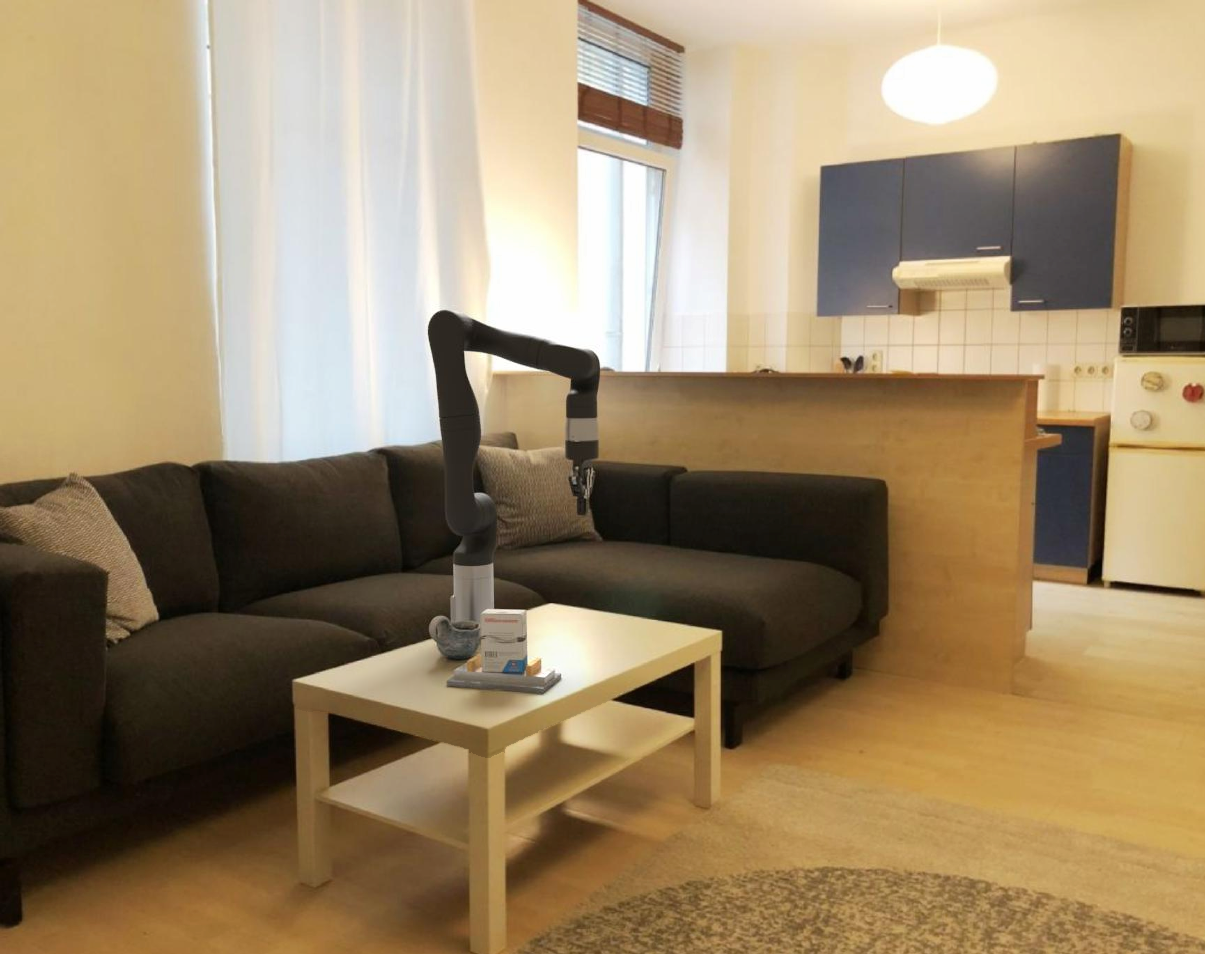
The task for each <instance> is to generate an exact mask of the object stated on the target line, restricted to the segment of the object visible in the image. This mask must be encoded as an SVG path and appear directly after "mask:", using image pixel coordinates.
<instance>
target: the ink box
mask: <svg viewBox="0 0 1205 954" xmlns="http://www.w3.org/2000/svg"><path fill="white" fill-rule="evenodd" d="M527 617H528V615H527V609H501V608H494V609H486V610H485V611H484V612H482V613H481V639H480V652H481V653H480V654H481V665H482V672H524V671H525V669H526V665H528V664H529V662H528V660H529V659H528V627H527V626H528V623H527Z"/></svg>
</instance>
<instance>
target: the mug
mask: <svg viewBox="0 0 1205 954" xmlns="http://www.w3.org/2000/svg"><path fill="white" fill-rule="evenodd" d="M480 629H481V626H480V624H479V623H476V622H474V621H457V622H451V620H450V619H449V618H448V617H446V616H444V615H438V616H437V615H436V616H435V617H434V618H432V619H431V622H430V623H429V626H428V632H429V633H428V634H429V636H430V637H431V639H432V640H433V641H434V642H435V643H436V647H437V650H438V651H439V653H440V654H441V655H442V656H444V657H446V658H450V659H454V660H464V659H468V658H470V657H471V656H473V655H474V654H475V653H476V652H477V651H478V650H479V649H478V648H479V645H480V640H479V631H480Z"/></svg>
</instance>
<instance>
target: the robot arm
mask: <svg viewBox="0 0 1205 954" xmlns="http://www.w3.org/2000/svg"><path fill="white" fill-rule="evenodd" d="M427 337H428V339H427V340H428V342H429V348H430V353H431V357H432V362H433V368H434V372H435V373H434V374H435V382H436V383H435V385H436V396H437V405H438V406H437V407H438V417H439V428H440V429H439V430H440V431H439V432H440V436H441V437H440V438H441V444H442V445H441V446H442V456H443V458H442V459H443V467H444V468H443V469H444V513H445V515H444V516H445V520H446V523H447V526H448V527H449V529H450V530H451V532H452V533H454V534H455V535H457V536H459V537H462V540H461V542H460V544H459V545H458V547H456V549H455V550H453V553H452V564H453V565H452V567H453V568H452V569H453V571H452V572H453V595H451V596H450V600H449V601H450V622H457V621H474V622H476V623H479V624H480V626H481V613H482V612H484V611H485V610H486V609H495V602H494V601H495V597H494V595H495V594H494V589H495V588H494V586H495V585H494V583H495V582H494V554H495V553H496V550H497V543H498V542H497V538H498V511H497V507H496V504H495V502H494V500H493V499H492V497H490V496H489V495H488V494H486V493H484V492H475V490H474V474H473V473H474V466H475V464H476V460H477V459H476V458H477V455H478V453H479V450H480V449H479V448H480V445H481V439H482V424H481V417H480V416H481V415H480V408H479V404H478V400H477V398H476V395H475V393H474V390H473V387H472V384H471V383H470V379H469V377H468V374H467V369H466V360H465V359H466V358H465V356H466V355H465V352H471V353H472V352H473V353H482V354H488V355H492V356H494V357H495V356H496V357H499V358H501V359H504V360H506V361H509V362H510V363H511V362H512V363H514V364H517V365H521V366H525V367H528V368H531V369H536V370H539V371H544V372H550V373H552V374H555V375H557V376H560V377H563V378H566V379H568V380H569V379H570V387H569V392H568V394H567V395H566V399H565V425H564V426H565V427H564V447H565V448H564V451H565V452H564V453H565V455H564V456H565V459H566V460H570V461H572V467H571V470H570V471H571V472H570V474H571V475H569V476H568V483H569V487H570V490H571V494H572V497H574V498H575V499H576V514H577V516H586V515H588V514H589V498H590V495H592V492H593V486H594V484H595V477H596V471H594V468H593V466H592V461H595V460H598V459H599V457H600V454H599V453H600V452H599V451H600V450H599V448H600V447H599V445H600V443H599V442H600V441H599V440H600V439H599V432H600V431H599V420H598V392H599V386H600V379H601V363H600V359H599V357H598V355H597V354H596V353H595V351H593V350H591V349H590V348H589V349H588V348H580V347H574V346H569V345H564V344H560V343H557V342H556V341H553V340H550V339H548V338H547V339H546V338H543V337H539V336H535V335H533V334H527V333H522V332H516V331H511V330H507V329H501V328H498V327H495V326H491V325H488V324H487V323H483V322H482V321H480V320H477V319H475V318H473V317H470V316H469V315H468V314H465V313H464V312H461V311H456V310H453V309H452V310H451V309H441V310H439V311H437V312H435V313H434V314H433V315H432V316H431V317H430V320H429V321H428V326H427ZM479 641H481V629H480V631H479Z"/></svg>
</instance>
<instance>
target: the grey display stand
mask: <svg viewBox="0 0 1205 954" xmlns="http://www.w3.org/2000/svg"><path fill="white" fill-rule="evenodd" d="M561 679H562V673H558V672H556V669H554V668H543V667H542V658H539V657H536V658H535V659H533V660H532V661H531V662H528V665H526V669H525V671H524V672H482V665H481V653H477V654H476V655H475V656H473V657H471V658H470V659H468V660H467V661H466V662H465V663H463V664H461V665H460V666H459V667H457V668H455V669H453V677H450V678H449V679H447V680H446V687H456V688H457V687H459V688H467V689H480V690H481V689H483V690H494V691H495V690H496V691H504V692H519V693H530V694H539V695H540V694H541V695H542V694H544V693H546V691H548V690H549V689H550V688H551V687H553V686H555V684H556V683H558V682H559V681H560V680H561Z"/></svg>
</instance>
